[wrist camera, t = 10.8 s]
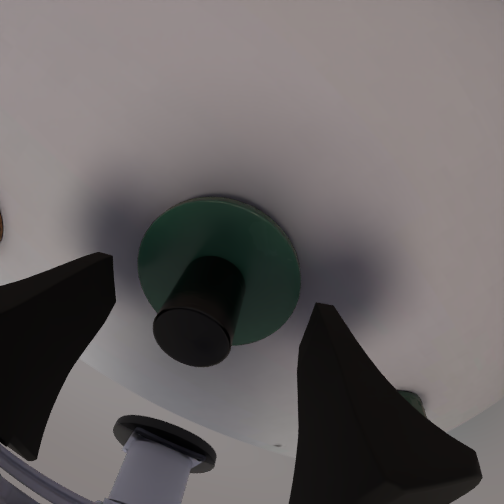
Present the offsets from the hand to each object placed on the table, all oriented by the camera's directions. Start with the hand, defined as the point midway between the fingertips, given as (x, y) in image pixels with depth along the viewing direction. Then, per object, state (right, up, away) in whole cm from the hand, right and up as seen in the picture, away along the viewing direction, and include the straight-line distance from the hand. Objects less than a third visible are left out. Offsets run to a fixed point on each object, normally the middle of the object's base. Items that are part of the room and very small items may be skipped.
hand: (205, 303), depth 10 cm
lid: (0, +1, +2) cm, 2 cm away
